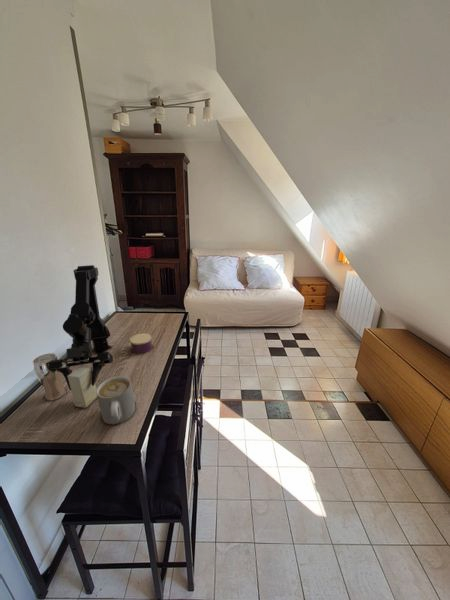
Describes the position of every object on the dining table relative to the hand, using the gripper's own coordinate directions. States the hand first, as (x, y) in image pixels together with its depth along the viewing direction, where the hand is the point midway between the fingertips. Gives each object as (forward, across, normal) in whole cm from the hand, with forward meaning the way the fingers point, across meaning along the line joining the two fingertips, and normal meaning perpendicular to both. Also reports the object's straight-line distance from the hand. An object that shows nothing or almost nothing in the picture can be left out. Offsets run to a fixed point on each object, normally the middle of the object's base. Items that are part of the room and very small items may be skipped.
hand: (81, 387), depth 82 cm
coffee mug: (+11, +11, -2) cm, 16 cm away
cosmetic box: (+4, 0, +6) cm, 7 cm away
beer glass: (-1, -11, +11) cm, 16 cm away
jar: (-17, +18, +27) cm, 37 cm away
